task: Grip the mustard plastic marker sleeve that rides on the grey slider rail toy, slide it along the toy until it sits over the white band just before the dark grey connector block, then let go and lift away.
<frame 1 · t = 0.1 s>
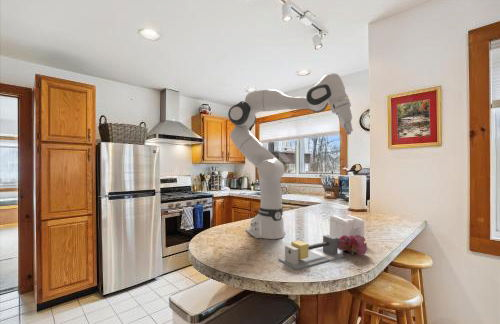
hand: (350, 133, 114), 52 cm above the countertop, tool tilted 20°, fingers open, 8 cm apart
cable organizer: (345, 241, 117), on the countertop
flower: (350, 254, 100), on the countertop
grey slider rail toy: (311, 258, 94), on the countertop
marker sleeve: (299, 249, 91), point 5 cm above the countertop, slide at 0.0 cm
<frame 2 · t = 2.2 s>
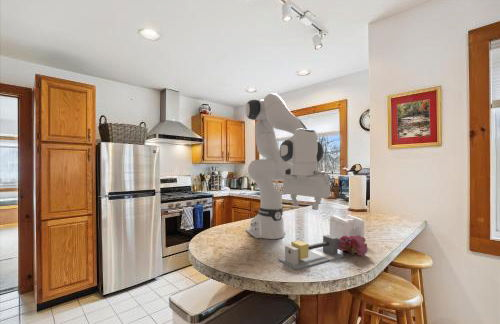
hand: (305, 207, 91), 20 cm above the countertop, tool pointing down, fingers open, 8 cm apart
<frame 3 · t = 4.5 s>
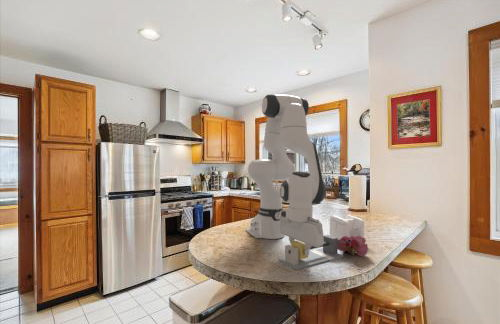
hand: (299, 251, 91), 4 cm above the countertop, tool pointing down, fingers closed on marker sleeve, 5 cm apart
marker sleeve: (299, 249, 91), point 5 cm above the countertop, slide at 0.0 cm, touching gripper
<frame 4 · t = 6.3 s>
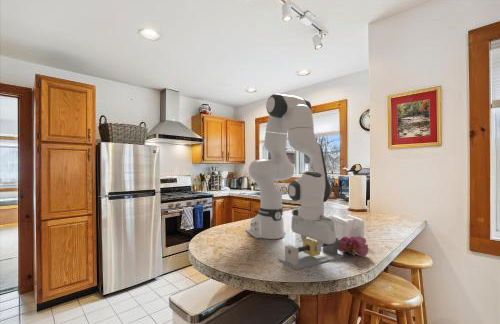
hand: (311, 249, 94), 4 cm above the countertop, tool pointing down, fingers closed on marker sleeve, 5 cm apart
marker sleeve: (311, 246, 94), point 4 cm above the countertop, slide at 6.2 cm, touching gripper
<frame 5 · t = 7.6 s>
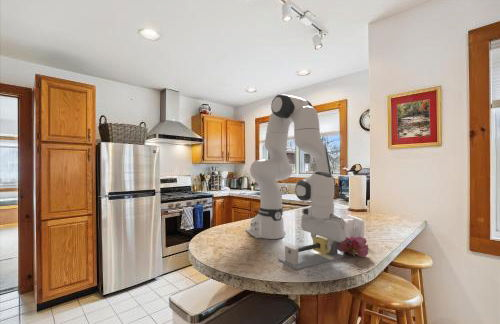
hand: (321, 246, 97), 4 cm above the countertop, tool pointing down, fingers closed on marker sleeve, 5 cm apart
marker sleeve: (321, 244, 97), point 4 cm above the countertop, slide at 11.9 cm, touching gripper
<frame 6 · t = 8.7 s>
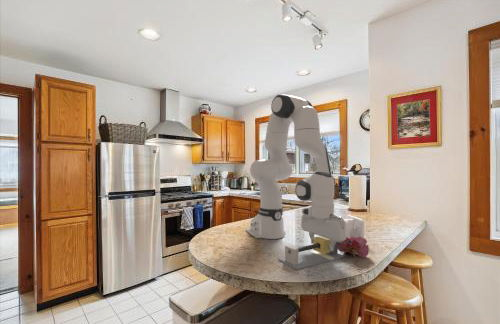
hand: (321, 246, 97), 4 cm above the countertop, tool pointing down, fingers open, 7 cm apart
marker sleeve: (321, 244, 97), point 4 cm above the countertop, slide at 11.9 cm
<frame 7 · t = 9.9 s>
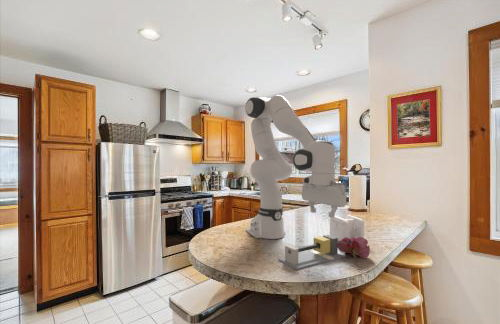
hand: (321, 214, 97), 16 cm above the countertop, tool pointing down, fingers open, 8 cm apart
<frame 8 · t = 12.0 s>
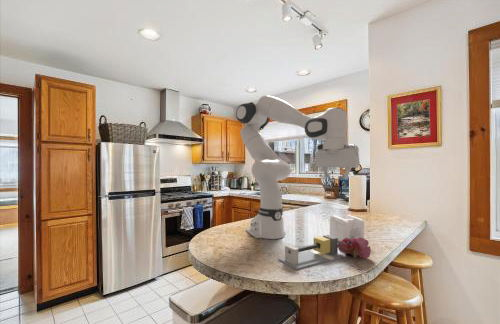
hand: (335, 178, 103), 31 cm above the countertop, tool pointing down, fingers open, 8 cm apart
at the end: marker sleeve slide at 11.9 cm; the gripper is holding nothing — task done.
